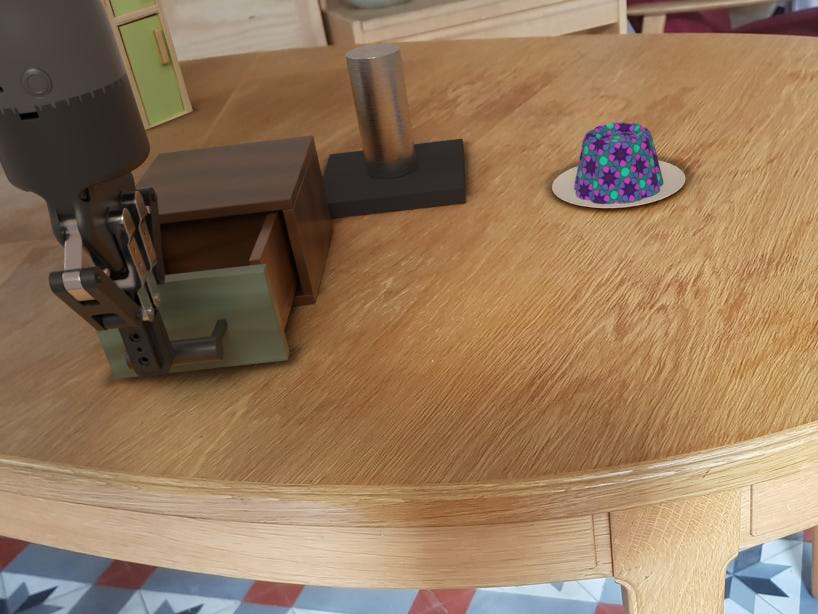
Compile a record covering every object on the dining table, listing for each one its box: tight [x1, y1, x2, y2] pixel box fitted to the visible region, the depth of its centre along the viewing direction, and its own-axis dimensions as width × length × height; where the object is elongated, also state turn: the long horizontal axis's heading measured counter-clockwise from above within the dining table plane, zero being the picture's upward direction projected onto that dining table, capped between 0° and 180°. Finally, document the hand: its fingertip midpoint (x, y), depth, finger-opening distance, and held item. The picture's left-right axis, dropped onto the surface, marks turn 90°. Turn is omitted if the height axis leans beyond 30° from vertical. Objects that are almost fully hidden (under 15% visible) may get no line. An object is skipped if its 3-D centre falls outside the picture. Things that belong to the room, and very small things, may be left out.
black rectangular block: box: [322, 138, 467, 219], centre depth 93 cm, size 14×14×2 cm
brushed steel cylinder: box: [345, 42, 418, 179], centre depth 90 cm, size 5×5×11 cm
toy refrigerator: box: [101, 0, 194, 131], centre depth 114 cm, size 8×7×21 cm
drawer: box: [94, 210, 299, 380], centre depth 68 cm, size 18×12×7 cm
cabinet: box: [135, 134, 334, 307], centre depth 78 cm, size 15×14×9 cm
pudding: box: [551, 122, 686, 209], centre depth 85 cm, size 12×12×5 cm
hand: (157, 369), depth 59 cm, fingers closed
